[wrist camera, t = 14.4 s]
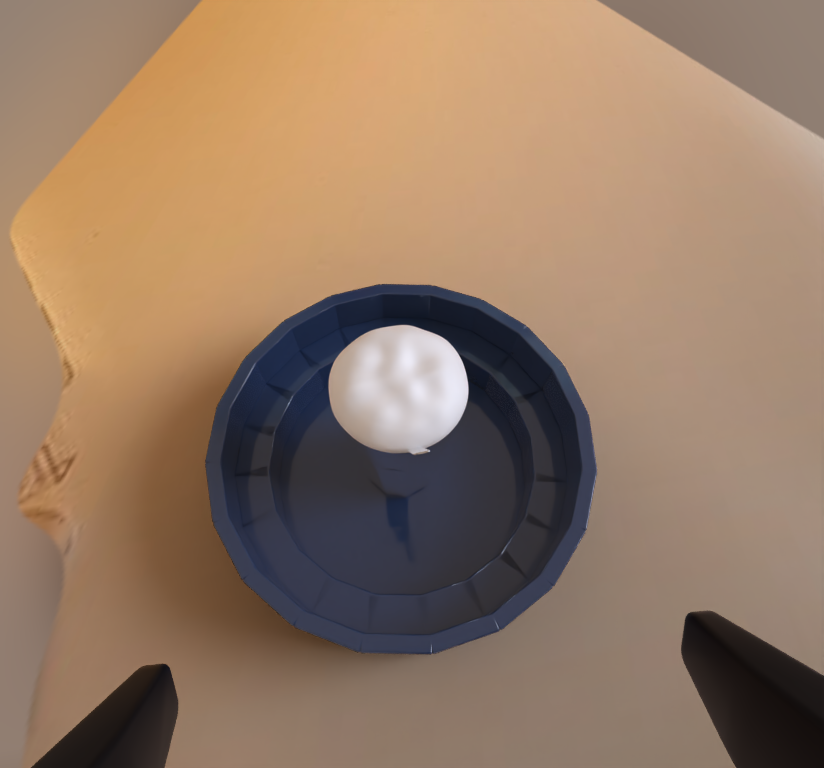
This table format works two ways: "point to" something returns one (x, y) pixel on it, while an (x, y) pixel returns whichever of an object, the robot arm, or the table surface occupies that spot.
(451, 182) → the table surface
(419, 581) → the bowl
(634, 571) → the table surface
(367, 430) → the milkshake
